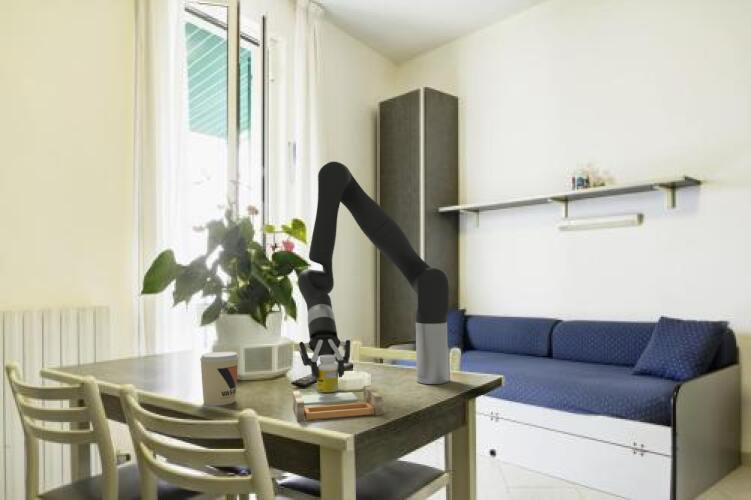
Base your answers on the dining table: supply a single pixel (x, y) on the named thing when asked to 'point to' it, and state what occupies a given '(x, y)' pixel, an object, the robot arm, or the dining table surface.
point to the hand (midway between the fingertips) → (328, 376)
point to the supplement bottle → (327, 376)
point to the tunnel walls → (369, 397)
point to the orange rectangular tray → (338, 411)
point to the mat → (329, 398)
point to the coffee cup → (219, 377)
